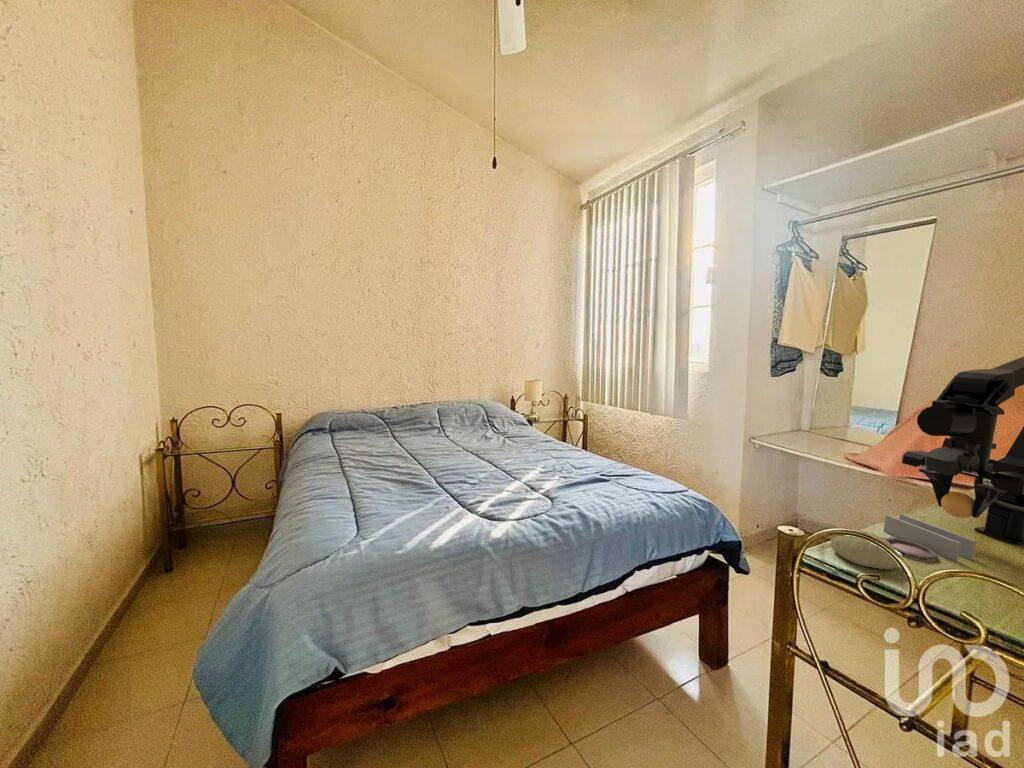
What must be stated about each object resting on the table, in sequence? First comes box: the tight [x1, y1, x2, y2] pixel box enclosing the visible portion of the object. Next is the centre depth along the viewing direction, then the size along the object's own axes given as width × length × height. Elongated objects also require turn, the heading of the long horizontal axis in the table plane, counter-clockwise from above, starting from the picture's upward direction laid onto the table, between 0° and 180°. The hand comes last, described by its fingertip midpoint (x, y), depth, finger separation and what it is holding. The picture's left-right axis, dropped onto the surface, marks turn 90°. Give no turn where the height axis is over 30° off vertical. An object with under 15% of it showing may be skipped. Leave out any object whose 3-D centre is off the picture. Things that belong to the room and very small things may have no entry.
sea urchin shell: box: [830, 528, 898, 570], centre depth 75 cm, size 9×8×8 cm
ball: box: [941, 491, 975, 519], centre depth 84 cm, size 5×5×5 cm
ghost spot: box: [883, 536, 938, 563], centre depth 79 cm, size 8×8×1 cm
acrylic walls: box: [883, 513, 978, 562], centre depth 82 cm, size 5×12×4 cm, turn 14°
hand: (957, 511), depth 84 cm, fingers closed on ball, 5 cm apart
